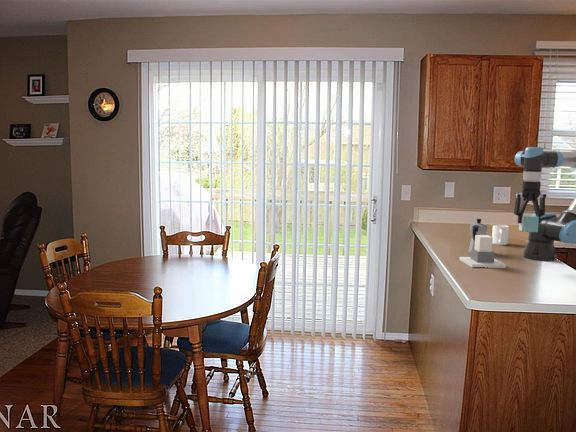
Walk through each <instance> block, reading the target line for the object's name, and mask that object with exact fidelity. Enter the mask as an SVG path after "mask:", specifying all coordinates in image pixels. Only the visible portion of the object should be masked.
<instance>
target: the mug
mask: <svg viewBox="0 0 576 432" xmlns="http://www.w3.org/2000/svg"><path fill="white" fill-rule="evenodd" d="M509 228H510V226H509V225H505V224H493V225H492V232H491V233H492V234H491V237H493V243H492V245H497V246H506V245H508V240H509V230H510V229H509Z"/></svg>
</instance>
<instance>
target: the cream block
mask: <svg viewBox="0 0 576 432" xmlns="http://www.w3.org/2000/svg"><path fill="white" fill-rule="evenodd" d="M474 249H475V250H477V251H479V252H492V251H493V237H492V235H488V234H486V235H475V247H474Z"/></svg>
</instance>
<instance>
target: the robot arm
mask: <svg viewBox="0 0 576 432" xmlns="http://www.w3.org/2000/svg"><path fill="white" fill-rule="evenodd" d="M514 163H515V165H516V166H518V167H523V175H522V176H523V177H522V180H523V181H522V189H521V191H520V193H515V195H514V196H515V202H514V208H513V209H514V210H513V214H514V215H515V216H517V223H518V230H519V231H520V230H521V232H523V226H524V217H523V215H524V213H525V210H526V209H527V205H528V203H529V202H530V201H531V202H532V205H533V209H534V213H532V214H531V215H533V216H537V217H539V222H538V232H528V239H527V240H528V241H527V243H526V246H525V248H524V250H523V255H522V256H523V257H524V258H526V259H529V260H535V261H549V260H552V261H556V260H557V252H556V248H555V243H554V242H555V241H556V242H561V243H563V244H572V245H574V244H576V196H575V197H574V199H573V200H572V201H571V204H569V207H568V208H567V209H566V210H562V211H561V213H560V214H559V216H557V213H556V212H555V213H552V212H551V213H550V212H546V210H545V209H546V198H547V194H546V193H542V192H541V191H540V190H541V183H542V182H541V180H542V171H543V168H549V169H550V168H551V169H552V168H553V169H555V168H560V167H568V168H569V167H570V168H571V169H576V149H573V150H571V151H556V150H554V151H549V150H548V151H547V150H545V151H544V148H543V146H541V147H540V146H539V147H538V146H536V147H535V146H527V147H525V150H521V151H518V152H517V153H516V154H515V155H514ZM538 198H539V199H538ZM521 200H522V201H521Z"/></svg>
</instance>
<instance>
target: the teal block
mask: <svg viewBox="0 0 576 432" xmlns="http://www.w3.org/2000/svg"><path fill="white" fill-rule="evenodd" d="M523 217H524V226H523V231H521V230H519V231H521V232H524V233H529V232H538V222H539V217H537V216H533V215H532V214H529V215H528V214H525V215H524V214H523Z"/></svg>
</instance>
